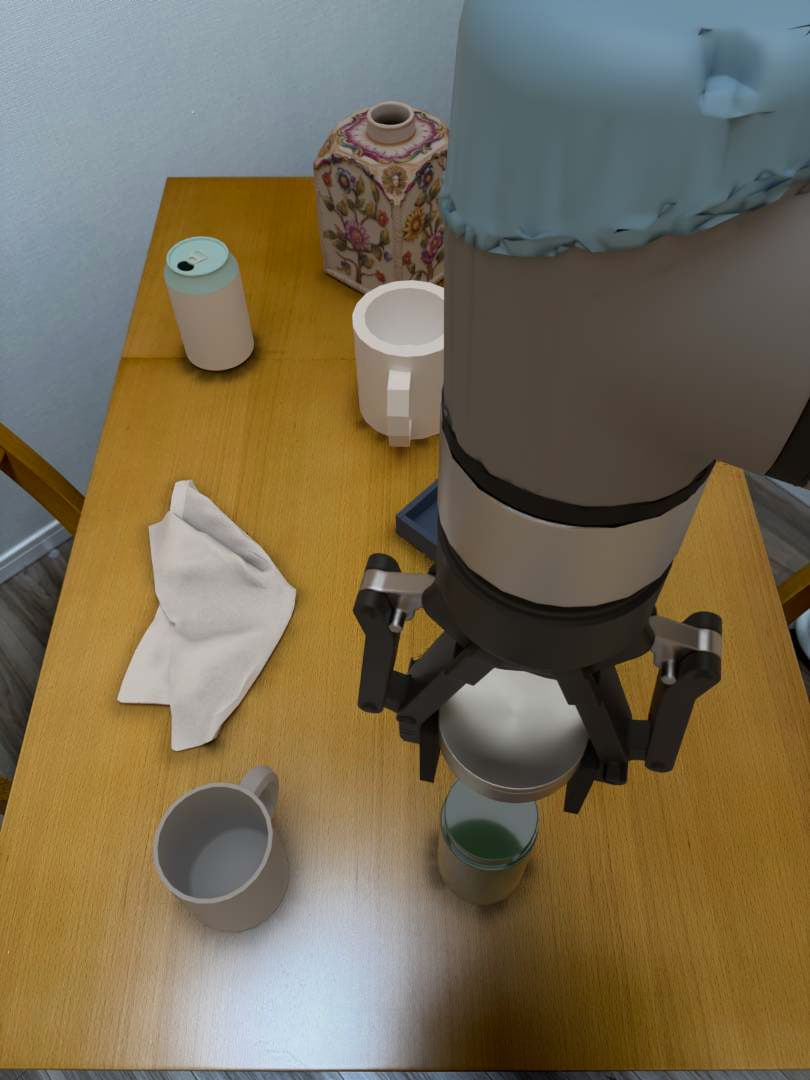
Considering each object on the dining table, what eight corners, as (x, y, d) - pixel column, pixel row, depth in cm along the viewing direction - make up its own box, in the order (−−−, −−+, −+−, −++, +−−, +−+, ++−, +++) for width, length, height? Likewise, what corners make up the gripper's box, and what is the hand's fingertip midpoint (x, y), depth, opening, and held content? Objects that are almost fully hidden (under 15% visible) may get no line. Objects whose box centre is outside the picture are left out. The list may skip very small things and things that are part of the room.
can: (250, 375, 87) (229, 279, 78) (182, 375, 88) (152, 278, 78) (258, 328, 91) (239, 231, 82) (193, 328, 92) (166, 231, 82)
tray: (592, 538, 75) (597, 521, 73) (512, 620, 71) (514, 604, 68) (477, 461, 80) (478, 442, 78) (395, 532, 76) (395, 515, 74)
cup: (165, 908, 58) (129, 874, 51) (236, 775, 63) (213, 727, 56) (260, 952, 56) (236, 924, 49) (325, 811, 62) (312, 767, 54)
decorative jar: (466, 264, 97) (475, 108, 82) (399, 317, 92) (396, 160, 77) (387, 224, 102) (382, 68, 87) (319, 272, 97) (302, 116, 82)
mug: (458, 469, 80) (463, 387, 71) (349, 464, 80) (341, 382, 72) (463, 367, 88) (468, 282, 79) (363, 363, 88) (358, 278, 79)
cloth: (283, 751, 64) (279, 739, 62) (101, 752, 64) (91, 740, 63) (306, 481, 79) (303, 465, 77) (158, 482, 79) (152, 467, 78)
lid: (513, 638, 44) (517, 619, 42) (617, 738, 40) (624, 721, 39) (407, 722, 41) (406, 706, 40) (508, 836, 38) (512, 823, 36)
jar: (541, 857, 60) (562, 809, 51) (486, 925, 57) (498, 887, 49) (475, 799, 62) (484, 744, 54) (419, 862, 60) (420, 815, 51)
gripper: (883, 472, 27) (695, 745, 46) (289, 381, 30) (340, 673, 49) (907, 682, 23) (690, 888, 42) (215, 553, 26) (302, 800, 45)
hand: (501, 772), depth 45 cm, fingers closed on lid, 7 cm apart
